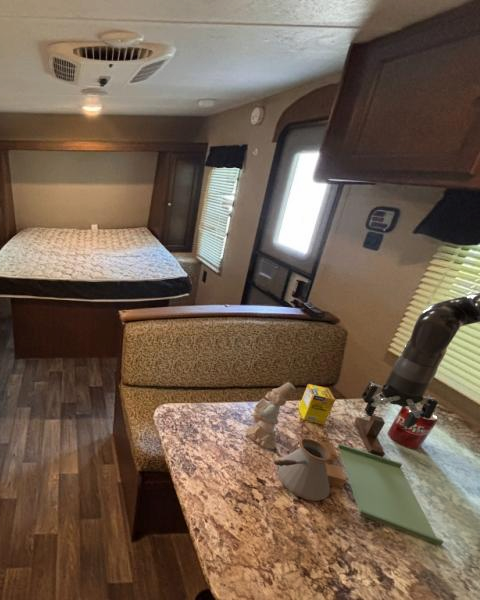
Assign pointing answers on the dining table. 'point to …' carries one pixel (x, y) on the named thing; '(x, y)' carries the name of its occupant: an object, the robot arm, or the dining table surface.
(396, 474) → the tray
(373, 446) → the brown wooden t-shape
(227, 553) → the dining table surface
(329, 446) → the cork cube
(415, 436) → the soda can
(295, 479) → the coffee pot
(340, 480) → the cork cube
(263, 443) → the figurine
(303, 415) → the supplement box
